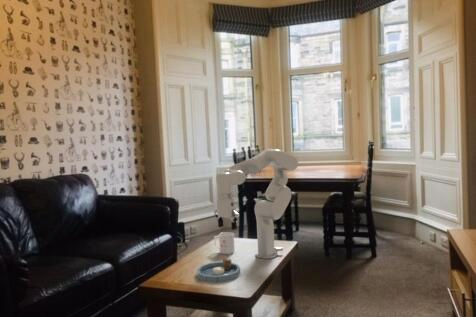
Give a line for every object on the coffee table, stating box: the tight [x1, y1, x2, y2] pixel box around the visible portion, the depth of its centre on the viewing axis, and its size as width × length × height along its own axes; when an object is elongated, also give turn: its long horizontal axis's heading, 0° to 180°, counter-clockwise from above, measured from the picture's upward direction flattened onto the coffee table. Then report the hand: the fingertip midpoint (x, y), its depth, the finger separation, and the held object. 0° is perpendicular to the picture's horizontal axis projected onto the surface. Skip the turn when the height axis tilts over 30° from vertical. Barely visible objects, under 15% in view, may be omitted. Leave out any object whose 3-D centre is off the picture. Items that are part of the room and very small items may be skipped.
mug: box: [213, 231, 236, 255], centre depth 240 cm, size 12×9×11 cm
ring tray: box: [196, 261, 241, 283], centre depth 205 cm, size 21×21×3 cm
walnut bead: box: [222, 258, 233, 271], centre depth 209 cm, size 4×4×5 cm
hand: (227, 228), depth 214 cm, fingers open, 9 cm apart
